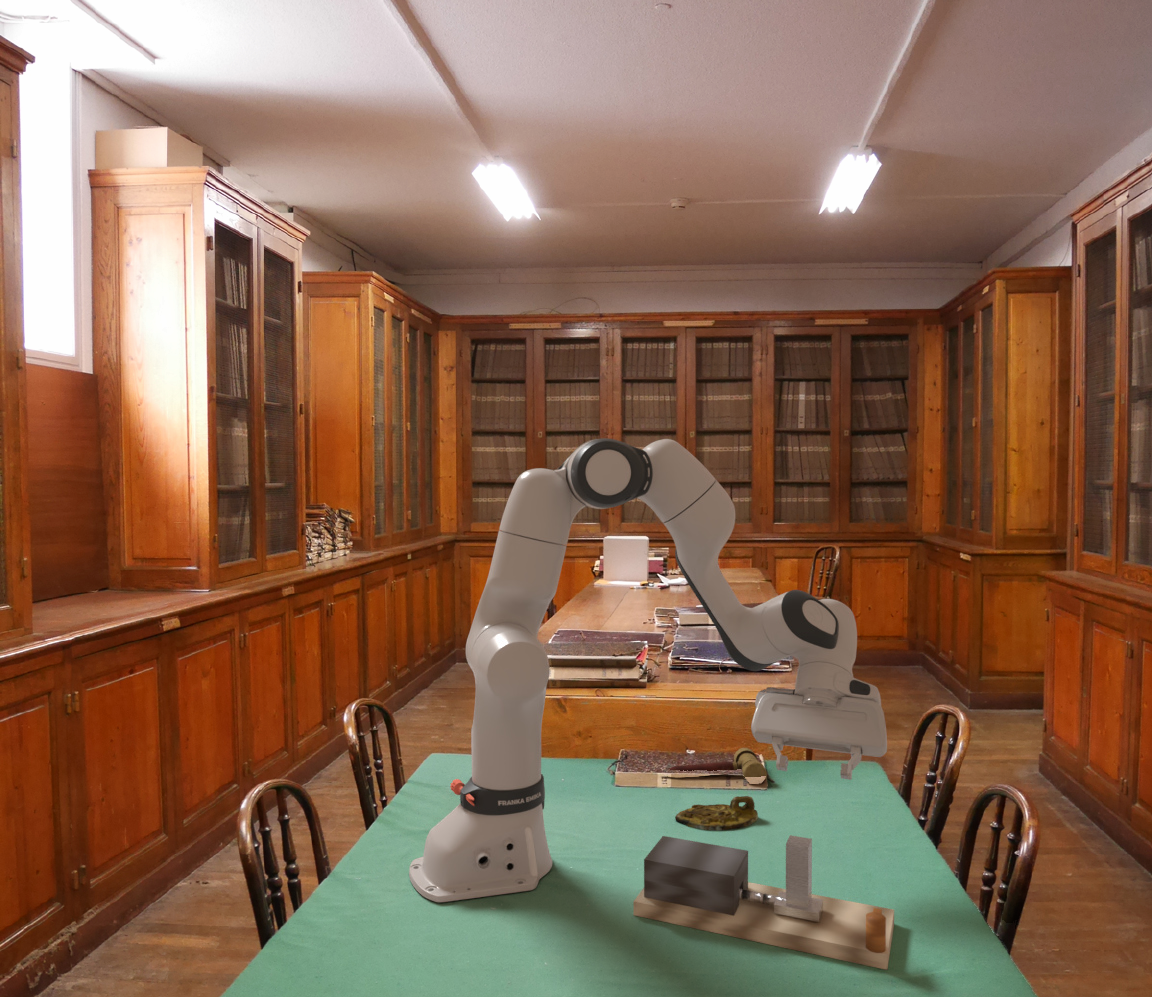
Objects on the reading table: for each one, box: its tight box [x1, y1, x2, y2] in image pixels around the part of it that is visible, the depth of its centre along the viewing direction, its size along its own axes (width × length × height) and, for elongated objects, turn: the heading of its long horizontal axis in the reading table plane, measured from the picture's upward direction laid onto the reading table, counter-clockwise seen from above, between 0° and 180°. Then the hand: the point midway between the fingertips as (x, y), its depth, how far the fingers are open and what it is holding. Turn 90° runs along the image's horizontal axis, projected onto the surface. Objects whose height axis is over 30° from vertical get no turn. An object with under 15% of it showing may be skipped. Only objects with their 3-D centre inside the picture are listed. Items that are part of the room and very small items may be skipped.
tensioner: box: [633, 835, 895, 971], centre depth 123 cm, size 34×12×8 cm, turn 66°
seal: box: [674, 795, 759, 831], centre depth 157 cm, size 9×5×15 cm
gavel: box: [668, 747, 768, 778], centre depth 179 cm, size 21×5×10 cm
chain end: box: [739, 834, 823, 922], centre depth 124 cm, size 23×4×10 cm, turn 66°
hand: (813, 773), depth 131 cm, fingers open, 8 cm apart
